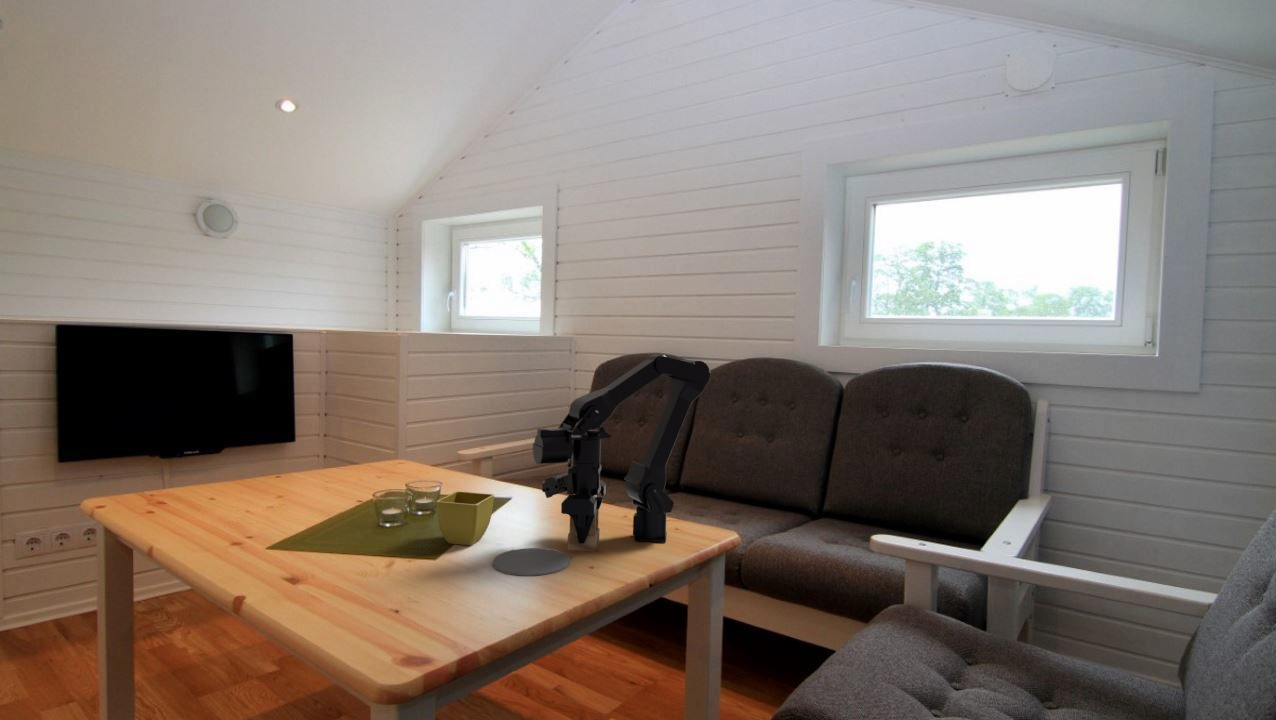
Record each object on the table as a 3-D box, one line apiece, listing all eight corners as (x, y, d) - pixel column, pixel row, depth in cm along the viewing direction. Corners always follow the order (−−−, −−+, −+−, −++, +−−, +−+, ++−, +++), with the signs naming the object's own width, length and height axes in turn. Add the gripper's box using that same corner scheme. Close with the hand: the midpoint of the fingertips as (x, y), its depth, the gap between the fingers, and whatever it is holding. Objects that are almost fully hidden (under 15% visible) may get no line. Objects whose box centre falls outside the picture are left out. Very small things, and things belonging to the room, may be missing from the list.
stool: (599, 542, 136) (600, 508, 136) (595, 551, 131) (596, 515, 130) (572, 541, 137) (573, 507, 136) (567, 549, 131) (568, 514, 131)
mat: (575, 552, 130) (575, 550, 130) (561, 578, 116) (561, 575, 116) (504, 548, 131) (504, 546, 131) (482, 573, 117) (482, 571, 117)
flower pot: (475, 550, 129) (476, 504, 129) (434, 546, 131) (434, 500, 131) (494, 537, 138) (495, 494, 138) (455, 533, 140) (456, 490, 139)
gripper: (555, 451, 143) (553, 523, 144) (535, 468, 124) (533, 551, 125) (607, 453, 142) (605, 526, 143) (594, 471, 124) (592, 554, 124)
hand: (583, 538), depth 134 cm, fingers closed on stool, 5 cm apart
